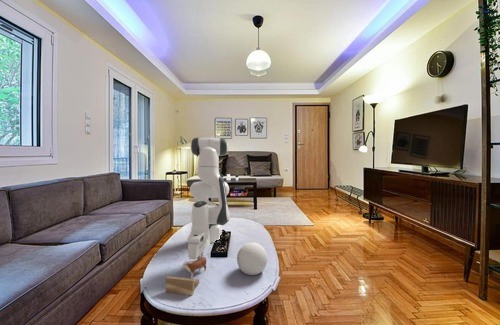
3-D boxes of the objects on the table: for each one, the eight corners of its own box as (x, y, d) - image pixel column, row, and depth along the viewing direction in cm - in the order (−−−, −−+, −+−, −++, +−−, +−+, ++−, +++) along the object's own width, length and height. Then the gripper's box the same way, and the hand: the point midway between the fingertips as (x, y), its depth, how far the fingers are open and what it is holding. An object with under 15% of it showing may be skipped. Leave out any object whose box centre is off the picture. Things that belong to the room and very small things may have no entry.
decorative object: (243, 264, 127) (244, 236, 127) (270, 269, 122) (271, 240, 121) (231, 277, 113) (231, 246, 113) (261, 283, 108) (261, 250, 107)
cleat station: (176, 280, 109) (176, 268, 109) (201, 283, 107) (201, 270, 107) (165, 292, 100) (165, 278, 100) (192, 295, 98) (192, 280, 98)
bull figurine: (180, 278, 112) (180, 261, 112) (204, 269, 121) (204, 253, 121) (184, 281, 109) (184, 264, 109) (209, 272, 118) (209, 255, 118)
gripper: (201, 227, 132) (201, 252, 132) (185, 240, 112) (185, 269, 112) (212, 228, 131) (212, 253, 131) (198, 240, 111) (198, 270, 111)
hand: (200, 260), depth 121 cm, fingers closed
